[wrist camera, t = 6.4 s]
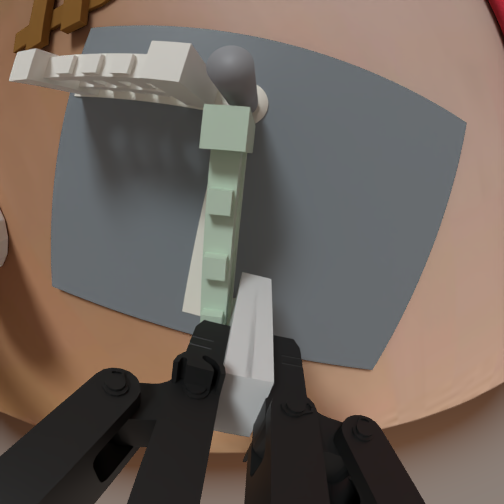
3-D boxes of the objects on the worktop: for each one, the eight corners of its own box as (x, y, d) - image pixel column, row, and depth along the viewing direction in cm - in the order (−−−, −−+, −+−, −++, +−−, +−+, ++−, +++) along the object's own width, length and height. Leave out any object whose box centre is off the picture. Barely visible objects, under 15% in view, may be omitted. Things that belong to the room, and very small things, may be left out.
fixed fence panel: (81, 95, 13) (8, 81, 7) (87, 73, 13) (17, 52, 7) (213, 110, 14) (179, 81, 8) (219, 85, 13) (191, 43, 7)
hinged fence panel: (231, 88, 13) (209, 44, 7) (259, 90, 13) (256, 46, 7) (212, 316, 17) (189, 392, 11) (235, 319, 17) (222, 397, 11)
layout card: (56, 282, 18) (51, 286, 17) (95, 30, 12) (90, 27, 12) (370, 364, 19) (372, 370, 19) (461, 123, 14) (467, 122, 13)
